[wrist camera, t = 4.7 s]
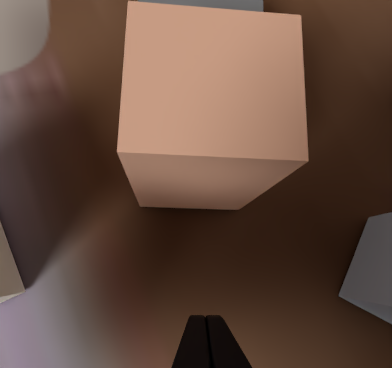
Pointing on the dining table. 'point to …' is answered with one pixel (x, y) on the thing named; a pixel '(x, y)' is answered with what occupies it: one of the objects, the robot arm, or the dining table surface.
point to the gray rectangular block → (372, 269)
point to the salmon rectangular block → (210, 104)
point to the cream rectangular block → (8, 271)
